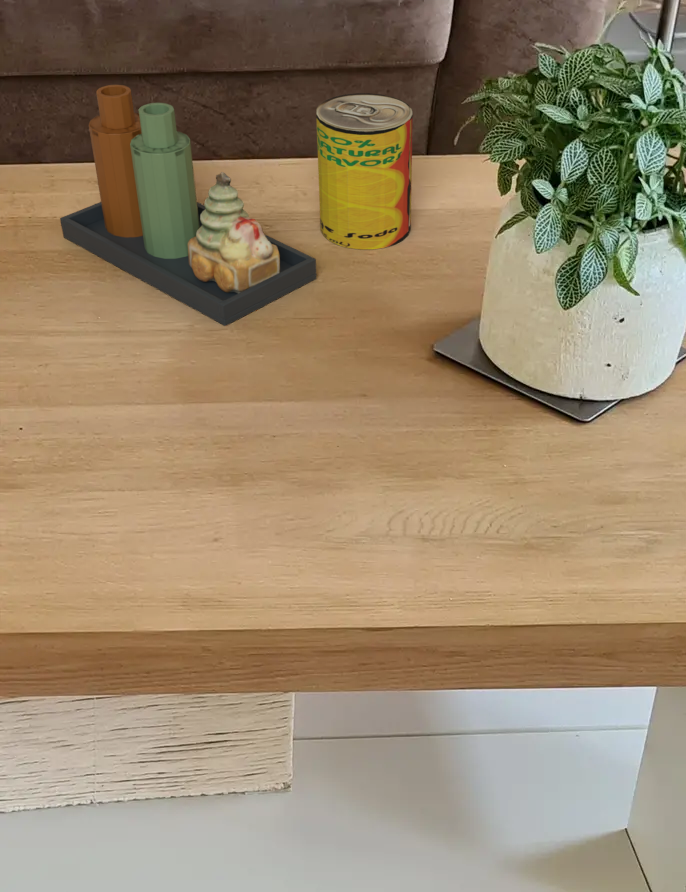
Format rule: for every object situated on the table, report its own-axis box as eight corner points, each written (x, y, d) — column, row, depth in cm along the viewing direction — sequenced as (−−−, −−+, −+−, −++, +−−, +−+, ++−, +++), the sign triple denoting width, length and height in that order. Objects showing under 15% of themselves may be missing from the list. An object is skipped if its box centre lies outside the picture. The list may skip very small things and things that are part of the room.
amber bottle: (95, 230, 114) (71, 90, 105) (138, 212, 117) (119, 75, 108) (129, 248, 111) (107, 106, 103) (172, 229, 114) (154, 90, 106)
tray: (63, 237, 112) (59, 217, 111) (155, 199, 119) (153, 180, 118) (225, 326, 101) (222, 305, 100) (316, 278, 108) (316, 258, 107)
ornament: (291, 277, 107) (286, 176, 101) (247, 305, 103) (239, 202, 97) (226, 251, 110) (216, 152, 104) (180, 278, 106) (168, 176, 100)
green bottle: (134, 251, 111) (113, 109, 102) (177, 232, 114) (160, 93, 105) (170, 270, 108) (151, 126, 100) (212, 250, 111) (198, 109, 103)
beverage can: (392, 256, 112) (393, 137, 104) (305, 239, 114) (300, 122, 106) (422, 215, 118) (425, 101, 111) (340, 200, 120) (337, 87, 113)
